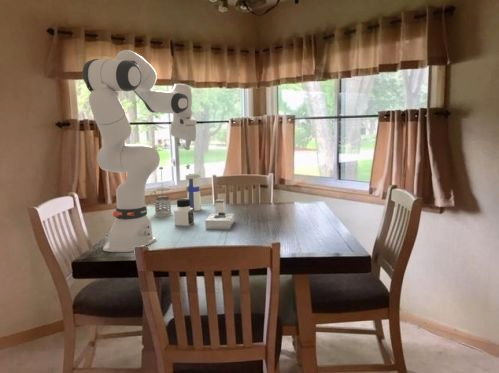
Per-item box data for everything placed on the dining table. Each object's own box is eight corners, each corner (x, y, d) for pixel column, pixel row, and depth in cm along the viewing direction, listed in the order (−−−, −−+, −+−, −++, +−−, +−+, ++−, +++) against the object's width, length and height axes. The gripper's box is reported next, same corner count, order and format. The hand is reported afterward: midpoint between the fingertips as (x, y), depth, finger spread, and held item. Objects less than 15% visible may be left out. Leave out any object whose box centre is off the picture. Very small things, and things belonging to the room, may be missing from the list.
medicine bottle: (189, 226, 191) (188, 200, 189) (174, 225, 192) (173, 200, 190) (194, 222, 197) (193, 197, 196) (180, 221, 199) (178, 197, 197)
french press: (170, 216, 210) (168, 167, 206) (148, 216, 210) (145, 168, 206) (174, 212, 220) (172, 165, 216) (153, 212, 220) (150, 165, 216)
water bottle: (183, 210, 224) (181, 164, 220) (190, 207, 232) (188, 163, 228) (197, 211, 221) (195, 164, 217) (203, 208, 229) (202, 163, 225)
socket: (229, 229, 184) (229, 218, 183) (205, 229, 185) (205, 218, 184) (234, 221, 197) (233, 211, 197) (211, 221, 198) (211, 211, 198)
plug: (223, 218, 204) (223, 200, 202) (215, 218, 204) (215, 200, 203) (225, 216, 208) (224, 199, 206) (217, 216, 208) (216, 199, 207)
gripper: (167, 116, 201) (167, 144, 205) (186, 121, 185) (186, 152, 189) (179, 116, 205) (179, 143, 209) (198, 121, 189) (198, 151, 193)
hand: (182, 147), depth 199 cm, fingers open, 8 cm apart
